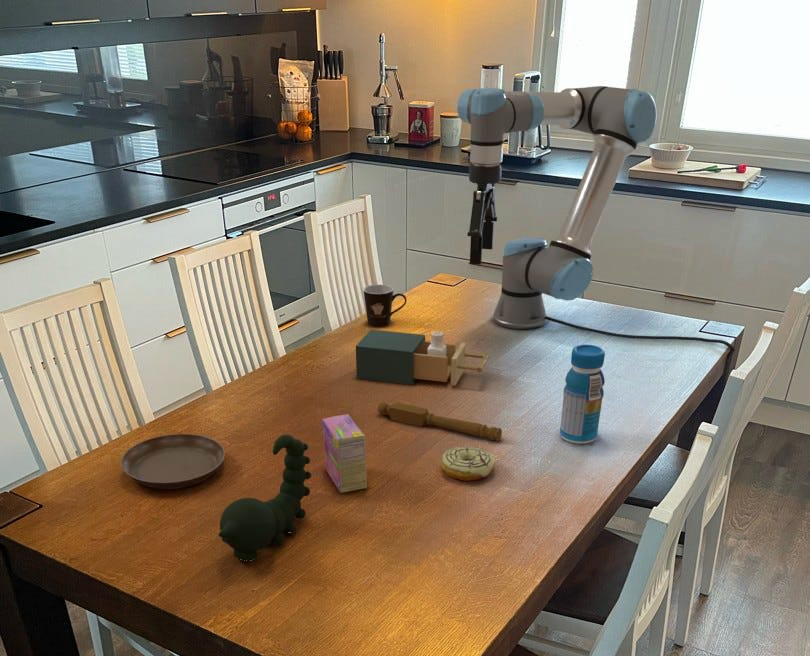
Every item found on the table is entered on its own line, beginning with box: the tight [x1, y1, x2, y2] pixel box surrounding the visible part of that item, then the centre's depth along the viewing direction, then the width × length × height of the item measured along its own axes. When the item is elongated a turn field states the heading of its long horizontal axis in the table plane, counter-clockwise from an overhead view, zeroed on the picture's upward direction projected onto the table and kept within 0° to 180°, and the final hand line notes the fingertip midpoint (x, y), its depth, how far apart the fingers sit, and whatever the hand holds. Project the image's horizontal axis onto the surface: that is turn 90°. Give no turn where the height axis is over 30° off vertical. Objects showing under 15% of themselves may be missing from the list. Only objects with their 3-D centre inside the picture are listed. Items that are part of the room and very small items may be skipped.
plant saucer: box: [120, 433, 226, 490], centre depth 175 cm, size 21×21×3 cm
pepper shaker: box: [428, 330, 446, 357], centre depth 212 cm, size 4×4×10 cm
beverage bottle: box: [559, 344, 606, 445], centre depth 183 cm, size 8×8×20 cm
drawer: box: [413, 340, 490, 386], centre depth 212 cm, size 20×11×7 cm, turn 74°
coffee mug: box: [362, 284, 407, 328], centre depth 245 cm, size 12×9×10 cm
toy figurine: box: [218, 434, 312, 563], centre depth 149 cm, size 9×19×25 cm
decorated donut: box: [441, 446, 496, 482], centre depth 174 cm, size 10×11×4 cm
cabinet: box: [355, 329, 426, 386], centre depth 216 cm, size 15×12×9 cm
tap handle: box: [377, 402, 503, 442], centre depth 191 cm, size 3×3×30 cm
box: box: [321, 413, 368, 494], centre depth 169 cm, size 10×6×12 cm, turn 21°
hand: (481, 256), depth 211 cm, fingers open, 13 cm apart
